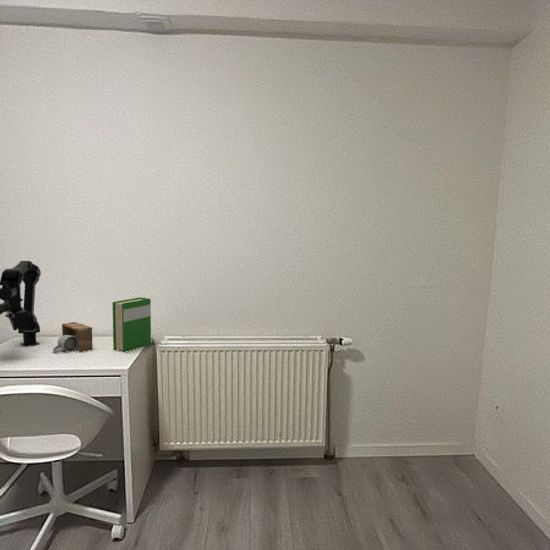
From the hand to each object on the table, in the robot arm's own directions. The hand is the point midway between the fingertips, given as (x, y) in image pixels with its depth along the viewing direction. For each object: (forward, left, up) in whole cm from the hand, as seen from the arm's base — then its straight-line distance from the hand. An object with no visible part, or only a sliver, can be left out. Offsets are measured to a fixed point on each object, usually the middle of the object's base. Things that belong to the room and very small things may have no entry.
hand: (15, 330), depth 195 cm
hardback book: (+27, +44, -12) cm, 53 cm away
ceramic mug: (+9, +18, -12) cm, 24 cm away
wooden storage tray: (+8, +25, -12) cm, 29 cm away
